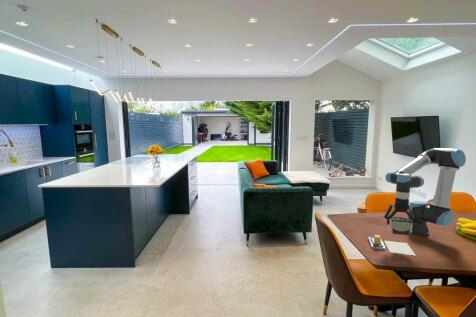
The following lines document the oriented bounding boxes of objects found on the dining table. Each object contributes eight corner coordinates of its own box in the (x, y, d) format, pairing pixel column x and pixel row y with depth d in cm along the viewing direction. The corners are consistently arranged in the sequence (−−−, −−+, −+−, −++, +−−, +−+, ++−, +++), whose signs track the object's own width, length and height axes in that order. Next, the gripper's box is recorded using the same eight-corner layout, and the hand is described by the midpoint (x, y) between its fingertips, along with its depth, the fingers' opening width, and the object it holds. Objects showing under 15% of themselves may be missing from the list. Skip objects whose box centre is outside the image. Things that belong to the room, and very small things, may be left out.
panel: (380, 240, 178) (380, 237, 177) (385, 250, 164) (385, 247, 163) (368, 239, 180) (368, 236, 180) (371, 248, 166) (371, 245, 166)
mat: (407, 243, 173) (407, 243, 173) (415, 256, 156) (415, 255, 156) (383, 240, 177) (383, 240, 177) (390, 252, 161) (390, 252, 161)
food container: (408, 232, 166) (410, 217, 165) (411, 236, 161) (413, 220, 160) (387, 230, 170) (388, 215, 169) (389, 233, 165) (390, 218, 164)
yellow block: (379, 242, 171) (379, 235, 170) (380, 244, 167) (380, 237, 167) (373, 241, 172) (374, 234, 171) (375, 244, 168) (375, 237, 168)
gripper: (421, 198, 163) (419, 230, 165) (380, 194, 170) (378, 226, 173) (426, 201, 156) (423, 235, 158) (382, 197, 163) (380, 230, 166)
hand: (399, 230), depth 165 cm, fingers closed on food container, 11 cm apart
